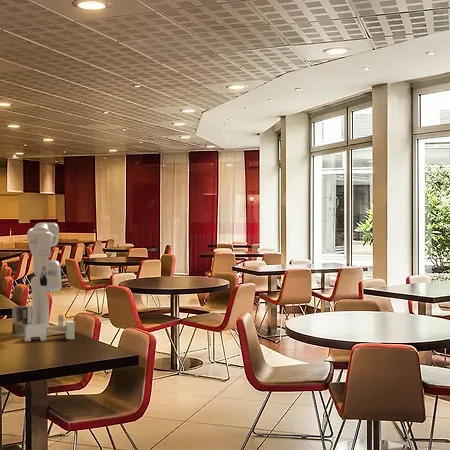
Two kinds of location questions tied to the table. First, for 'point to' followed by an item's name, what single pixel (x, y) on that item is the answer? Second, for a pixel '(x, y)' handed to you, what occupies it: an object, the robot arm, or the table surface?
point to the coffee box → (20, 320)
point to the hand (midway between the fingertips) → (43, 285)
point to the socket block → (70, 329)
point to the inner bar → (57, 327)
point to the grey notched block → (35, 331)
